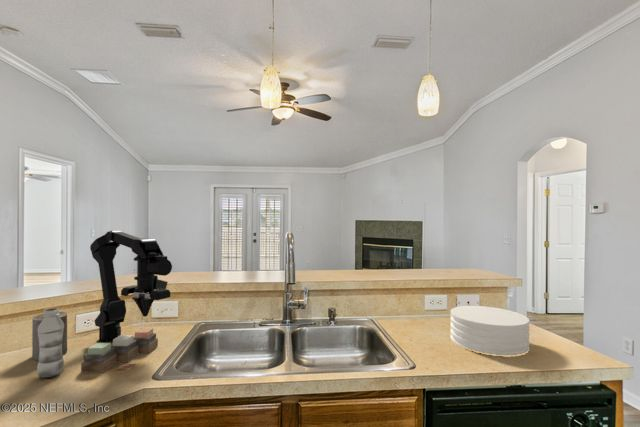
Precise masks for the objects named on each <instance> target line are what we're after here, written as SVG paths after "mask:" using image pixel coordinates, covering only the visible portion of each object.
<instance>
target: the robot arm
mask: <svg viewBox="0 0 640 427" xmlns="http://www.w3.org/2000/svg"><path fill="white" fill-rule="evenodd" d="M120 246H125V247H127V248H130V249H131V251H132V253H134V254H135V255H136V256H135V257H134V258H133V261H135V262H137V263H136V265H137V266H136V267H137V268H136V270H137V271H136V276H134V277H133V278H134V280H135V281H136V285H129V286H125V287H122V288H121V292H120V296H122V297H123V296H124V297H128V296H129V295H130V294H132V295H133V297H131V299H132V300H133V301H134V302H135V303H136V305H137V308H138V309H139V311H140V313H141V315H142V316H143V317H147V316H148V314H149V312H150V310H151V307H152V305H153V303H154V302H155V301H160V300H164V299H168V298H171V291H170V289H168V288H167V286H168V281H166V280H162V279H159V278H158V276H165V277H166V276H168V275H169V274H170V273H171V272H172V269H173V265H172V262H171V260H170V259H168V256H167V255H164V253H163V251H162V249H161V247H160V245H159V244H158V241H157V240H156V239H155V238H150V237H149V238H144V237H143V238H141V237H137V236H134V235H132V234H129V233H127V232H123V231H122V230H109V231H106V233H105V234H103V235H101V236H99V237H97V238H95V240H94V241H93V242H92V243H91V244H90V246H89V248H90V251H91V255H92V258H93V259H94V260H95V261H96V263H97V264H98V271H99V275H100V276H99V278H100V283H101V289H102V290H101V291H102V298H103V301H102V302H101V304H100V307H99V314H98V315H97V317H96V318H95V319H94V324H95V327H98V329H99V331H98V332H99V334H98V339H97V340H96V343H113V339H115V338H117V337H118V336H120V335H122V326H121V323H124V322H125V318H126V314H127V307H126V301H125V299H121V298H120V297H119V293H118V286H117V281H116V280H117V279H116V271H115V267H114V266H115V265H114V259H115V257H116V256H117V249H118V248H119V247H120Z"/></svg>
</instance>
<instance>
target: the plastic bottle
mask: <svg viewBox="0 0 640 427" xmlns="http://www.w3.org/2000/svg"><path fill="white" fill-rule="evenodd" d="M59 312H60V308H59V307H58V308H57V307H54V308H53V307H52V308H46V309H44V310H43V314H44V315H43V317H45V318H44V320H43V321H42V322H41V323H40V325H39V326H38V329H37V331H38V337H39V346H40V353H39V360H38V363H37V367H36V373H37V376H38V377H39V378H42V379H49V378H52V377H55V376H58V375H60V374H61V373H63V370H64V369H65V368H64V367H65V361H64V357H63V355H62V337H63V331H64V323H63V321H62V320H61V319H60V318H59V317H58V315H59Z"/></svg>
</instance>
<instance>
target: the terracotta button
mask: <svg viewBox="0 0 640 427" xmlns="http://www.w3.org/2000/svg"><path fill="white" fill-rule="evenodd" d="M153 333H154V328H151V327H150V328H145V327H144V328H143V327H142V328H139V329H137V330H136V331H135V332H134V337H135V338H149V337H150V336H152V335H153Z"/></svg>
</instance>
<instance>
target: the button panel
mask: <svg viewBox="0 0 640 427" xmlns="http://www.w3.org/2000/svg"><path fill="white" fill-rule="evenodd" d="M158 342H159V340H158V337H157V333H155V332H153V335H152V336H150V337H149V338H135V336H133V342H132V343H131V344H129V345H128V346H113V343H111V350H110V351H108V352H107V353H105V354H103V355H88V352H87V353H85V354H84V355H83V361H81V362H80V372H81V373H105V372H106V371H108V370H109V369H111V367H113V366H114V365H115V364H117V363H123V364H121V365H120V366H118V367H117V368H116V371H130V370H132V369H133V367H135V366H136V363H129V362H130V361H131V360H133V359H134V358H135V357H136V356H138V355H139V354H151V353H152V352H153V351H155V349H156V348H158V346H159V343H158Z"/></svg>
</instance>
